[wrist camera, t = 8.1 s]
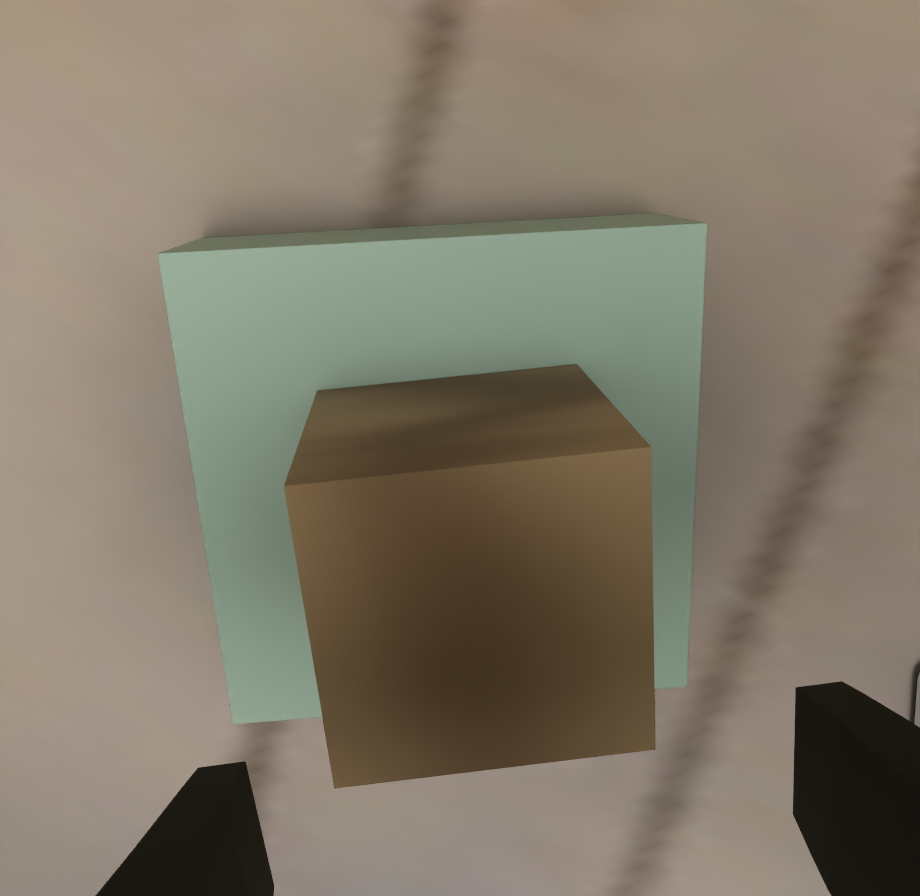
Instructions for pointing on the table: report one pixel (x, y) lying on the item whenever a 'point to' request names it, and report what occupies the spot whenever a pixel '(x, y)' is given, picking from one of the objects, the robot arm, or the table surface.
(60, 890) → the table surface
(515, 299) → the riser block
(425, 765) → the walnut block
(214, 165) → the table surface
